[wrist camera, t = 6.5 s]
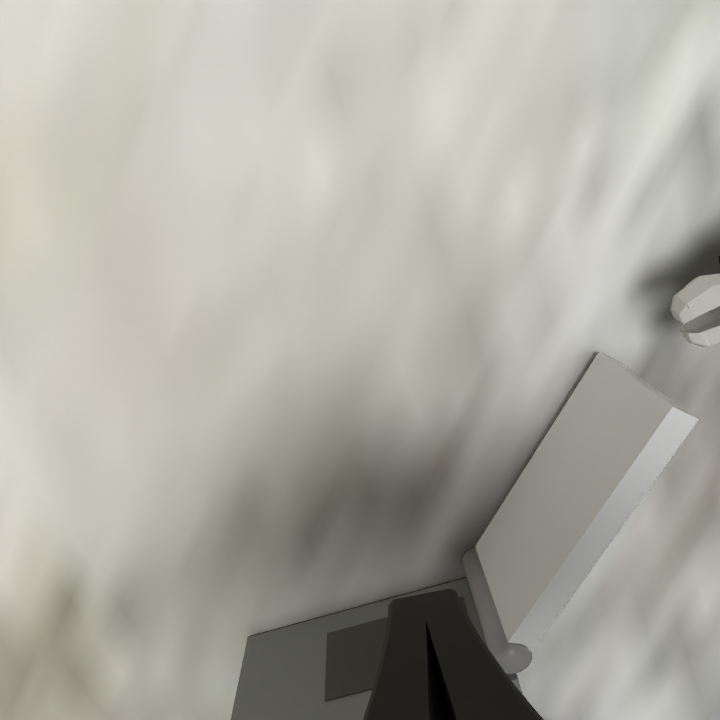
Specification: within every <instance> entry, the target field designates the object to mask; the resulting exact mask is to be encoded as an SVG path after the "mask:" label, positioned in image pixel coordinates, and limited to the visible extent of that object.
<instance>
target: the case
mask: <svg viewBox="0 0 720 720" xmlns="http://www.w3.org/2000/svg"><path fill="white" fill-rule="evenodd" d="M449 588H451V589H453V590H454V591H456V592H457V594H458V596H459V599H460V601H461V603H462V605H463V608H464V609H465V611H466V613H467V615H468V617H469V619H470V621H471V622H472V624H473V626H474V627H475V629H476V630H477V632H478V634H479V635H480V637H481V639H482V640H483V642H484V643H485V645H486V646H487V643H486V640H485V636H484V633H483V630H482V626H481V623H480V619H479V616H478V613H477V609H476V606H475V603H474V599H473V596H472V593H471V589H470V586H469V583H468V579H467V578H464V579H460V580H456V581H453V582H449V583H445V584H442V585H438V586H434V587H431V588H427V589H423V590H420V591H416V592H412V593H409V594H405V595H401V596H398V597H394V598H390V599H387V600H383V601H379V602H375V603H372V604H368V605H364V606H361V607H357V608H353V609H350V610H346V611H342V612H339V613H335V614H331V615H328V616H324V617H320V618H317V619H313V620H309V621H306V622H302V623H298V624H295V625H291V626H287V627H284V628H280V629H276V630H273V631H269V632H265V633H262V634H258V635H254V636H251V637H248V639H247V644H246V649H245V653H244V658H243V663H242V668H241V673H240V678H239V683H238V687H237V692H236V697H235V702H234V707H233V712H232V717H231V720H363V718H364V715H365V711H366V708H367V705H368V702H369V699H370V696H371V692H372V689H373V685H374V681H375V677H376V673H377V670H378V666H379V662H380V658H381V653H382V648H383V644H384V639H385V633H386V627H387V619H388V606H389V604H390V603H391V601H392V600H394V599H399V598H404V597H409V596H414V595H419V594H424V593H429V592H434V591H439V590H444V589H449ZM487 648H488V646H487ZM507 675H508V677H509V678H510V679H511V681H512V682H513V683H514V685H515V686H516V687H517V688H518V690H519V691H520V692H521V693H522V691H521V688H520V684H519V681H518V678H517V675H516V673H514V674H507Z"/></svg>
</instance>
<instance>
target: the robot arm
mask: <svg viewBox="0 0 720 720" xmlns="http://www.w3.org/2000/svg"><path fill="white" fill-rule="evenodd" d="M363 720H543V719H542V717H541V716H540V715H539V714H538V713H537V712H536V710H535V709H534V708H533V707H532V706H531V704H530V703H529V702H528V701H527V700H526V698H525V697H524V696H523V695H522V693H521V692H520V691H519V690H518V688H517V687H516V686H515V685H514V683H513V682H512V681H511V679H510V678H509V677H508V675H507V674H506V673H505V672H504V670H503V669H502V667H501V666H500V664H499V663H498V662H497V660H496V659H495V657H494V656H493V655H492V653H491V652H490V650H489V649H488V648H487V646H486V645H485V643H484V642H483V640H482V639H481V637H480V635H479V634H478V632H477V630H476V629H475V627H474V626H473V624H472V622H471V621H470V619H469V617H468V615H467V613H466V611H465V609H464V608H463V605H462V603H461V601H460V599H459V596H458V594H457V592H456V591H454V590H453V589H451V588H449V589H444V590H439V591H434V592H429V593H424V594H419V595H414V596H409V597H404V598H399V599H394V600H392V601H391V603H390V604H389V606H388V619H387V627H386V633H385V639H384V644H383V648H382V653H381V658H380V662H379V666H378V670H377V673H376V677H375V681H374V685H373V689H372V692H371V696H370V699H369V702H368V705H367V708H366V711H365V715H364V718H363Z"/></svg>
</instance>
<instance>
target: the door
mask: <svg viewBox="0 0 720 720" xmlns="http://www.w3.org/2000/svg"><path fill="white" fill-rule="evenodd" d="M698 420H699V419H698V418H696V417H695V416H694V415H692V414H691V413H689V412H688V411H687V410H685V409H684V408H682V407H681V406H680V405H678V404H677V403H675V402H674V401H673V400H671V399H670V398H668V397H667V396H666V395H664V394H663V393H661V392H660V391H659V390H657V389H656V388H654V387H653V386H651V385H650V384H649V383H647V382H646V381H644V380H643V379H642V378H640V377H639V376H637V375H636V374H635V373H633V372H632V371H630V370H629V369H628V368H626V367H625V366H623V365H622V364H621V363H619V362H617V361H615V360H613V359H611V358H609V357H607V356H605V355H603V354H601V353H598V354H597V355H596V357H595V359H594V360H593V362H592V363H591V365H590V366H589V368H588V370H587V371H586V373H585V374H584V376H583V377H582V379H581V381H580V382H579V384H578V385H577V387H576V388H575V390H574V392H573V393H572V395H571V396H570V398H569V399H568V401H567V403H566V404H565V406H564V407H563V409H562V410H561V412H560V414H559V415H558V417H557V418H556V420H555V421H554V423H553V425H552V426H551V428H550V429H549V431H548V432H547V434H546V436H545V437H544V439H543V440H542V442H541V443H540V445H539V447H538V448H537V450H536V451H535V453H534V454H533V456H532V458H531V459H530V461H529V462H528V464H527V465H526V467H525V469H524V470H523V472H522V473H521V475H520V477H519V478H518V480H517V481H516V483H515V484H514V486H513V488H512V489H511V491H510V492H509V494H508V495H507V497H506V499H505V500H504V502H503V503H502V505H501V506H500V508H499V510H498V511H497V513H496V514H495V516H494V517H493V519H492V521H491V522H490V524H489V525H488V527H487V528H486V530H485V532H484V533H483V535H482V536H481V538H480V539H479V541H478V543H477V544H476V546H475V548H472V549H470V550H468V551H467V552H466V553H465V555H464V557H463V566H464V569H465V572H466V576H467V579H468V583H469V586H470V589H471V593H472V596H473V599H474V603H475V606H476V609H477V613H478V616H479V619H480V623H481V626H482V630H483V633H484V636H485V640H486V643H487V646H488V649H489V650H490V652H491V653H492V655H493V656H494V657H495V659H496V660H497V662H498V663H499V664H500V666H501V667H502V669H503V670H504V672H505V673H506V674H514V673H518V672H521V671H522V670H524V669H525V668H527V667H528V665H529V664H530V662H531V659H532V654H531V651H533V650H534V648H535V647H536V645H537V644H538V643H539V641H540V640H541V638H542V637H543V636H544V634H545V633H546V631H547V630H548V629H549V627H550V626H551V625H552V623H553V622H554V620H555V619H556V618H557V616H558V615H559V613H560V612H561V611H562V609H563V608H564V606H565V605H566V604H567V602H568V601H569V600H570V598H571V597H572V595H573V594H574V593H575V591H576V590H577V588H578V587H579V586H580V584H581V583H582V581H583V580H584V579H585V577H586V576H587V574H588V573H589V572H590V570H591V569H592V568H593V566H594V565H595V563H596V562H597V561H598V559H599V558H600V556H601V555H602V554H603V552H604V551H605V549H606V548H607V547H608V545H609V544H610V542H611V541H612V540H613V538H614V537H615V536H616V534H617V533H618V531H619V530H620V529H621V527H622V526H623V524H624V523H625V522H626V520H627V519H628V517H629V516H630V515H631V513H632V512H633V510H634V509H635V508H636V506H637V505H638V504H639V502H640V501H641V499H642V498H643V497H644V495H645V494H646V492H647V491H648V490H649V488H650V487H651V485H652V484H653V483H654V481H655V480H656V479H657V477H658V476H659V474H660V473H661V472H662V470H663V469H664V467H665V466H666V465H667V463H668V462H669V460H670V459H671V458H672V456H673V455H674V453H675V452H676V451H677V449H678V448H679V447H680V445H681V444H682V442H683V441H684V440H685V438H686V437H687V435H688V434H689V433H690V431H691V430H692V428H693V427H694V426H695V424H696V423H697V421H698Z"/></svg>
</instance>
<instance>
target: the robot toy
mask: <svg viewBox="0 0 720 720" xmlns="http://www.w3.org/2000/svg"><path fill="white" fill-rule="evenodd" d="M718 258H719V262H720V256H718ZM671 312H672V314H673V316H674V318H675V319H676V320H678V321H680V322H681V323H682V324H685V323H686V322H688V321H690V320H692V319H693V318H695V319H694V320H692V321H690V322H689V323H687V324H686V325H684V326H682V327H680V328H679V329H680V331H681V333H682V335H683V337H684V338H685V339H686V340H687V341H688V342H689V343H692V344H695V345H698V346H701V347H707V346H710V345H713V344H716V343H720V274H712V275H704V276H699V277H697V278H694V279H693V280H692V281H691V282H690V283H689V284H687V285H686V286H685V287H684V288H683V289H682V290H680V291H679V292H678V293H677V294H676V295H674V296H673V300H672V305H671ZM696 317H697V318H696Z"/></svg>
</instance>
